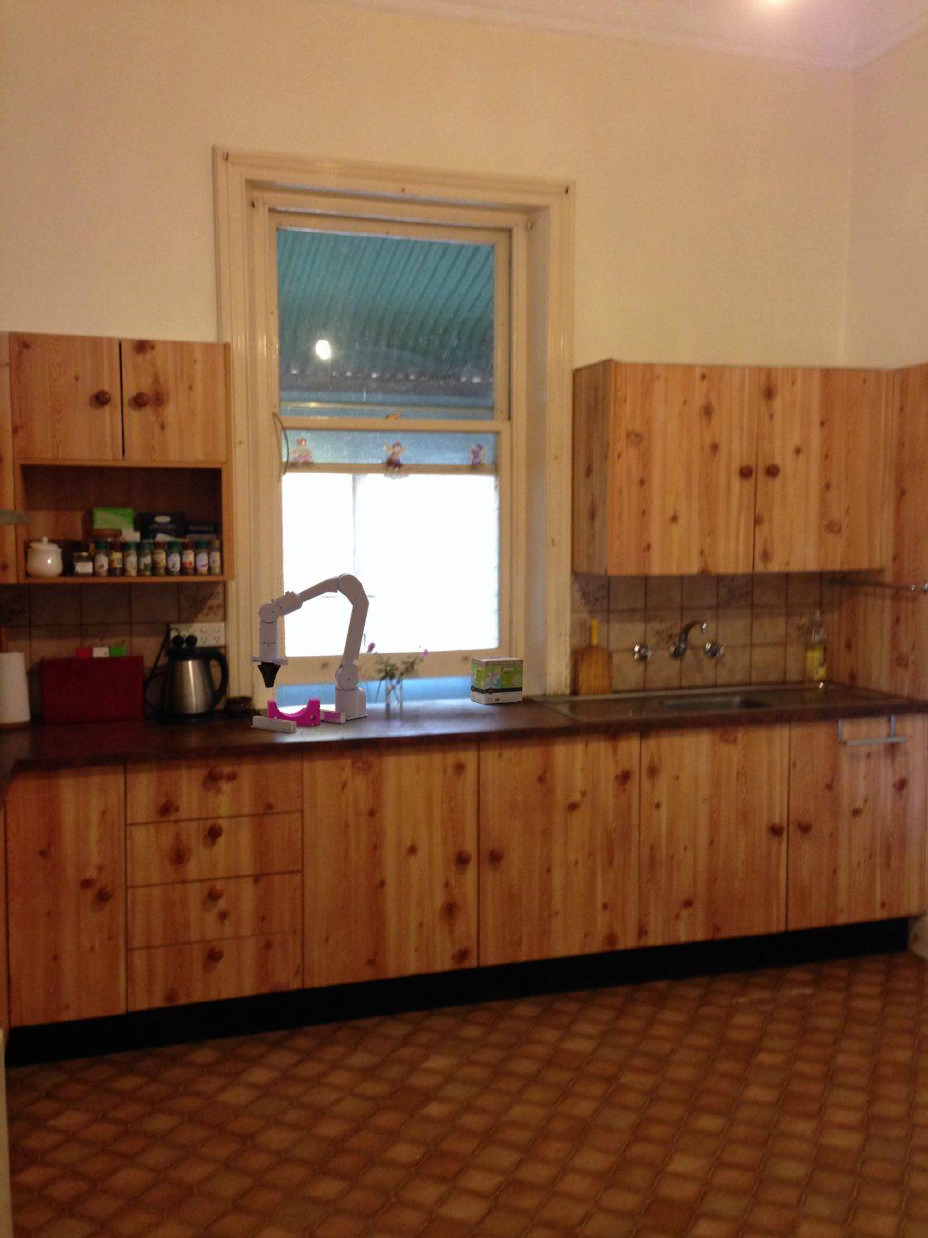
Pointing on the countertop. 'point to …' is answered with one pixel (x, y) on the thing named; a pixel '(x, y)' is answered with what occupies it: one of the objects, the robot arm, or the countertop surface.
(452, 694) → the countertop surface
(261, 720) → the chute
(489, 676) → the tea box
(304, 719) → the toy block
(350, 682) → the robot arm
